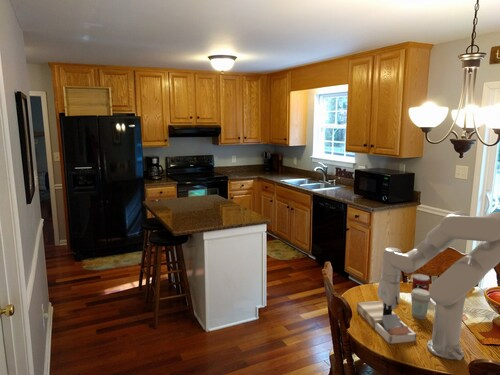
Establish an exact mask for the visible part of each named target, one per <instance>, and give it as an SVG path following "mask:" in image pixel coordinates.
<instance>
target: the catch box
mask: <svg viewBox="0 0 500 375" xmlns="http://www.w3.org/2000/svg"><path fill="white" fill-rule="evenodd" d="M399 322H400V325H401V327H405V326H408V325H407V324H406V323H405V322H403V321H402V320H401V319H400V320H399ZM408 329H409V332H410V333H408V334H398V335H390V334H389V333H388V332H387V331H386V329H385V328H383V327H382V326H381V325H380V324H379V323H375V329H374V330H375V331H376V332H377V333H378V334H379V335H380V336H381V337H382V338H383V339H384V340H385V341H386V342H387V343H388V344H398V343H399V344H400V343H409V342H416V341H417V333H416V332H415V331H414V330H413V329H412V328H410V326H408Z"/></svg>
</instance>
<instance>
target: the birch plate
mask: <svg viewBox="0 0 500 375" xmlns="http://www.w3.org/2000/svg"><path fill="white" fill-rule="evenodd" d="M356 304H357V305H356V312H357V313H359V315H361V317H362V318H363V319H364V320H365V321H366V322H367V323H368V324H369V325H370V326H371V327H372V328H373V329H374V330H375V323H379V324H380V325H381V326H382V327H383V328H384V329H385V326H384V324H383V321H382V318H381V317H382V316H383V301H382V300H375V301H374V300H373V301H362V302H357V303H356ZM393 314H396V313H395V312H394V311H393V310H392V315H393ZM397 317H398V320H401V317H400V316H399V315H398V314H397Z"/></svg>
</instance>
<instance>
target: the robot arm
mask: <svg viewBox="0 0 500 375" xmlns="http://www.w3.org/2000/svg"><path fill="white" fill-rule="evenodd" d="M458 240H464V241H476V242H480V243H478V245H477V246H476V247H474V248H473V249H472V250H471V251H470V252H469V253H467V254H466V255H464V256H462V257H461V258H459V259H458V260H456V262H454V263H452V264H451V266H449V267H448V268H447V269H446V270H445V271H444V272H443V273H441V274H440V275H439V276H438V277H437V278H436V279H435V280H434V281H433V282H431V284H430V285H429V291H428V292H429V294H430V297H431V299H430V300H432V301H433V302H434V303H435V304H434V306H435V307H434V314H433V324H432V336H431V339H429V340H428V341H427V343H426V347H427V349H428V351H429V352H430V353H431V354H433V355H435V356H437V357H440V358H442V359H445V360H453V361H454V360H457V361H461V360H462V359H463V358H465V355H466V354H465V353H464V351H463V349H462V345H460V343H461V342H460V341H461V340H460V339H461V333H462V324H463V315H464V307H465V301H466V297H467V294H468V293H469V292H470V291H471V290H472V289H474V288H475V287H476V286H477V285H478V284H479V283H480V282H481V281H482V280H483V279H484V278H485V276H486V275H487V274H488V273H489V272H491V270H493V269H494V268H495V267H496V266H498V264H500V211H495V212H493V211H492V212H490V213H488V214H486V215H484V216H479V215H477V216H476V215H470V214H469V213H468V212H466V211H463V210H456V211H453V212H451V213H449V214H446V215H445V216H444V217H443V218H442V219H441V221H440V222H439V223H438V224H437V225H436V226H434V227H433V228H432V229H431V230H429V231H428V232H427V233H426V236H425V239H423V240H422V241H421V242H420V243H419V244H417V246H415V247H413V249H411V250H409V251H407V252H406V253H405V252H404V253H403V251H402V250H401V249H399V248H397V247H385V248H384V249H383V251H382V252H383V253H382V262H381V276H380V278H379V281H378V285H377V286H378V289H377V297H378V298H379V299H380V301H381V302H383V315H392V311H393V310H396V309H397V307H398V305H399V304H400V297H401V292H400V290H401V288H400V287H401V285H400V282H401V272H403V273H406V274H411V273H414V272H415V271H417V270H418V269H420V268H422V267H423V266H425V265H426V264H427V263H429V262H430V261H431V260H432V259H434V258H435V257H436V256H438V255H439V254H440V253H442V252H444V251H445V250H447V249H448V248H449V247H450V246H452V245H453V244H454V243H456V242H457V241H458Z"/></svg>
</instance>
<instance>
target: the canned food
mask: <svg viewBox="0 0 500 375" xmlns="http://www.w3.org/2000/svg"><path fill="white" fill-rule="evenodd" d="M430 278H431V277H430V276H429V275H426V274H421V273H415V274H413V276H412V284H411V286H412V287H411V291H412V290H413V289H424V290H427V291H428V292H429V288H430V282H431V279H430Z"/></svg>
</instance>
